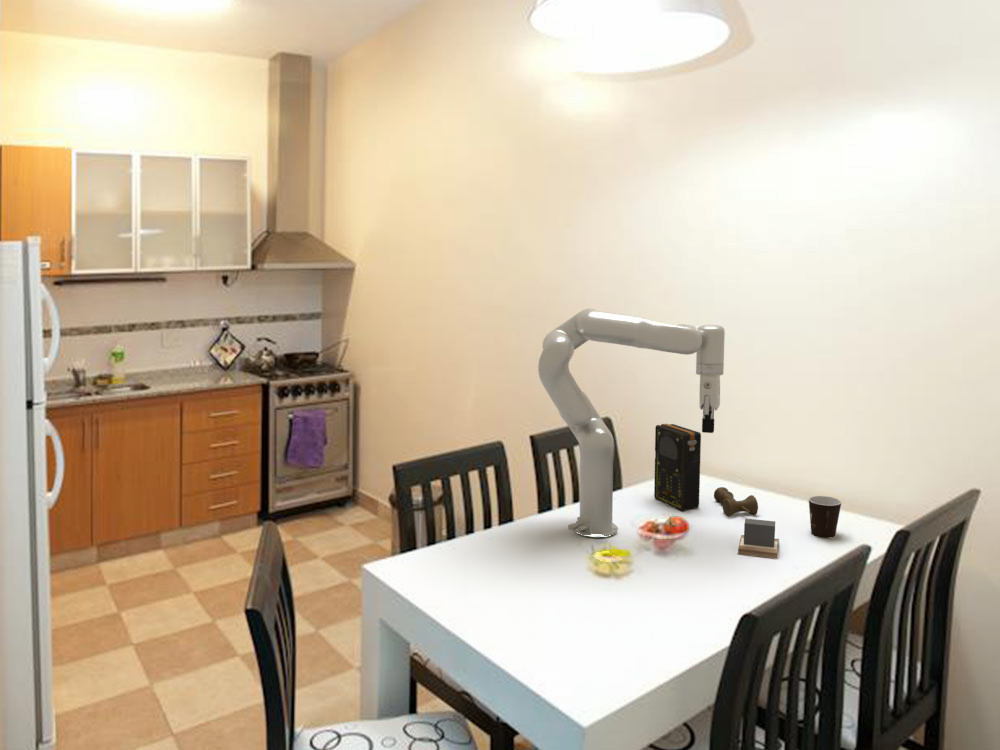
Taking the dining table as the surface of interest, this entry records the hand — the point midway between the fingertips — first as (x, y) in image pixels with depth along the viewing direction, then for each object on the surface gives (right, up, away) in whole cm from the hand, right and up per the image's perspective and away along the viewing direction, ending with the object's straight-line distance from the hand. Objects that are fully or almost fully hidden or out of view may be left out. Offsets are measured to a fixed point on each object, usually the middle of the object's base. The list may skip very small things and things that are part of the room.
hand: (707, 431), depth 228 cm
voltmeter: (-3, -25, +28) cm, 37 cm away
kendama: (+14, -26, +20) cm, 36 cm away
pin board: (+11, -31, -11) cm, 35 cm away
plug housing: (+11, -30, -11) cm, 33 cm away
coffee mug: (+32, -30, -2) cm, 43 cm away
